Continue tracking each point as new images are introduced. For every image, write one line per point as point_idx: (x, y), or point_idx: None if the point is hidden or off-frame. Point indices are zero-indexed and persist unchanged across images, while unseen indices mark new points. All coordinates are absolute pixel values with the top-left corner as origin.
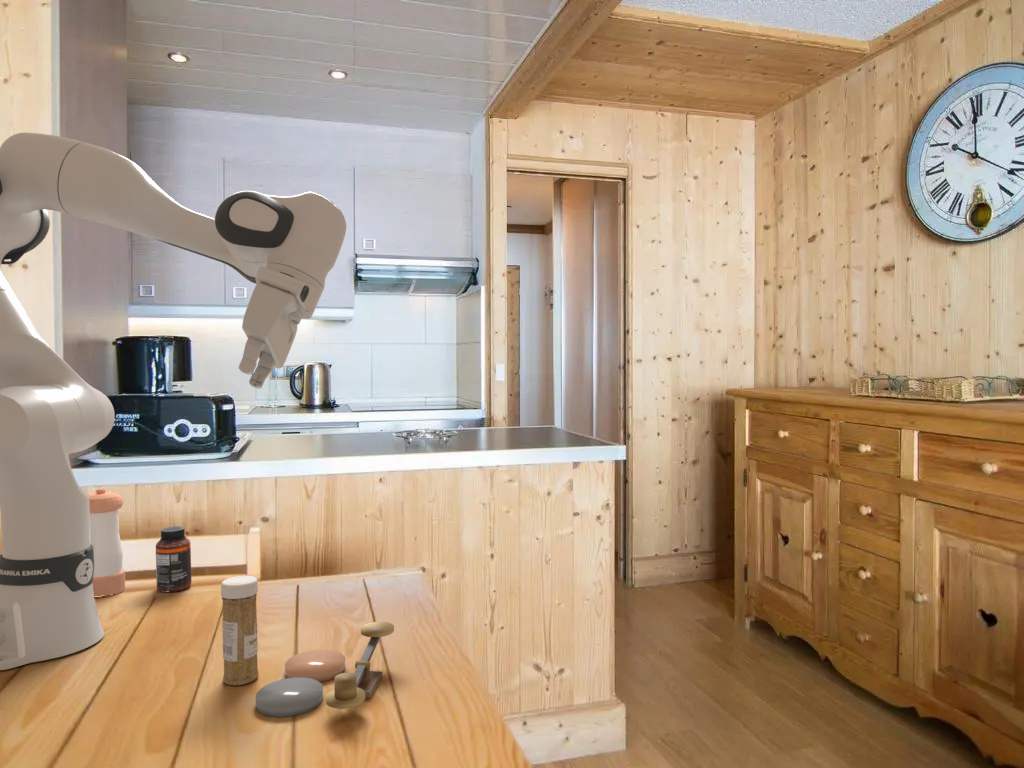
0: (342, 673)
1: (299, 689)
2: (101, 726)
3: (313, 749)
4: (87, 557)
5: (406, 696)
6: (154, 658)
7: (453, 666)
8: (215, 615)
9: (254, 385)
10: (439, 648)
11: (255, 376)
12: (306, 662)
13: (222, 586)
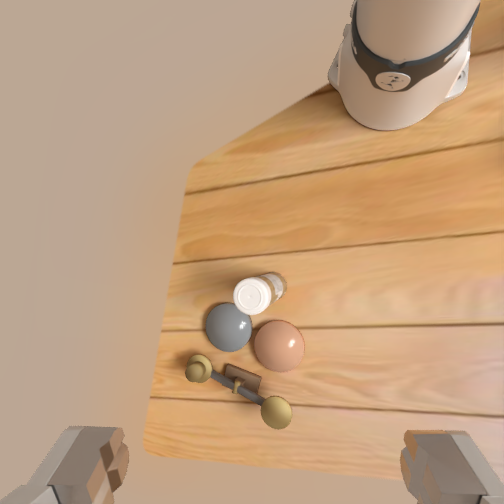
0: (199, 372)
1: (229, 334)
2: (218, 204)
3: (168, 342)
4: (399, 72)
5: (222, 409)
6: (333, 201)
7: (266, 457)
8: (458, 229)
9: (405, 449)
10: (306, 457)
11: (427, 491)
12: (277, 339)
13: (241, 280)
